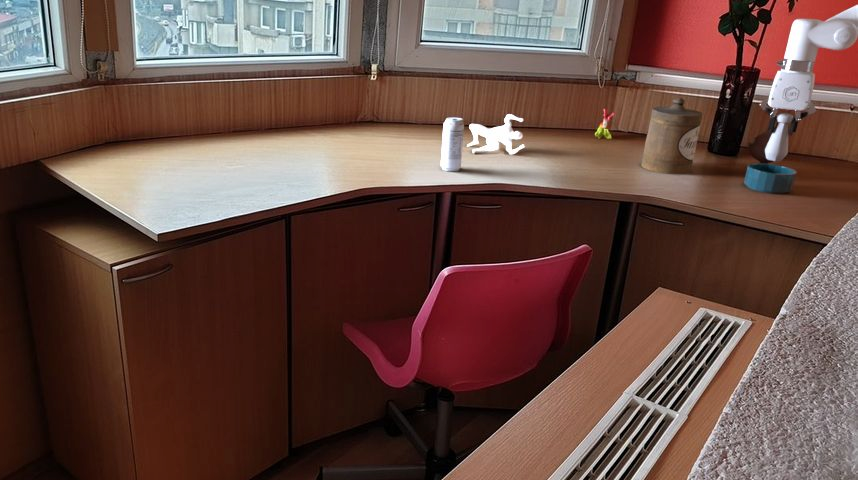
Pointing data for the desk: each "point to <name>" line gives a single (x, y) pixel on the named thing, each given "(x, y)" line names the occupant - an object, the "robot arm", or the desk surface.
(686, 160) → the wooden container
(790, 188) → the bowl
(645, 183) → the desk surface
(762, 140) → the brown rounded lumpy piece
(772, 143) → the salt shaker
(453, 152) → the energy drink can
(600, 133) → the bird rattle
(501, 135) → the person figurine
